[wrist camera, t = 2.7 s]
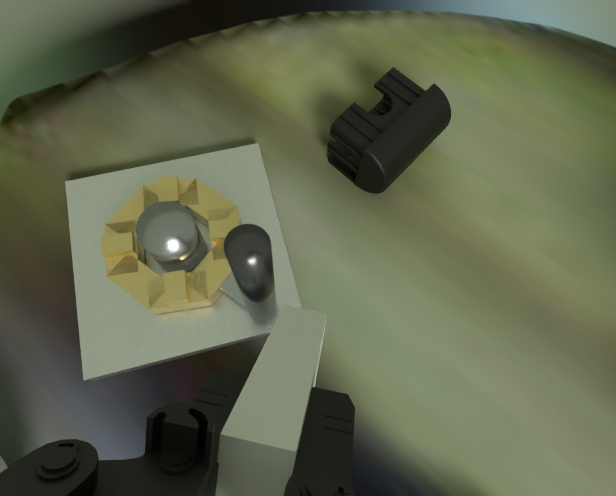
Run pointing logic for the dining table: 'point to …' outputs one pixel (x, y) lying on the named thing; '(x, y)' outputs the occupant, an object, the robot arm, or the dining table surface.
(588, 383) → the dining table surface
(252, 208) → the housing
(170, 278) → the gold and grey piece
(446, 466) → the dining table surface
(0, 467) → the cereal bowl
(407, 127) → the end cap
